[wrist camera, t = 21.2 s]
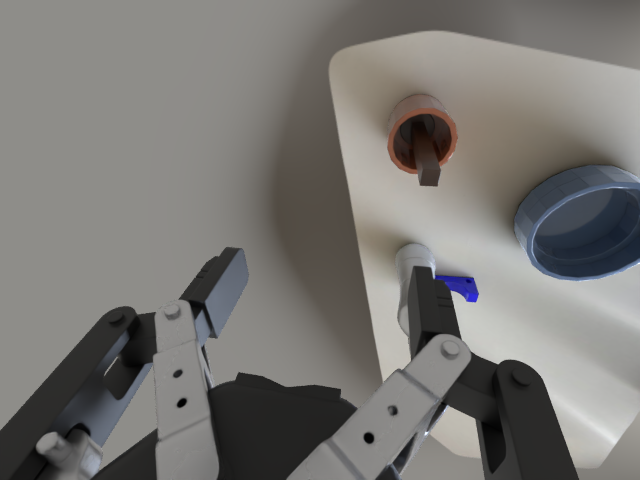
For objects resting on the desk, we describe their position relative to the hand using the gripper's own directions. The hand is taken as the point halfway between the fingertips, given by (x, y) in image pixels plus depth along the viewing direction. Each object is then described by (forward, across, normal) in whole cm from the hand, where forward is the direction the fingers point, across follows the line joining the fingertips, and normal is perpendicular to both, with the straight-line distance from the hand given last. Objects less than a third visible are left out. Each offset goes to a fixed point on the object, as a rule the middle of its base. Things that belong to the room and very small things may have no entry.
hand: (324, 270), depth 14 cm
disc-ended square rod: (+33, -7, +2) cm, 34 cm away
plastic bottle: (+34, -10, +24) cm, 43 cm away
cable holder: (+34, -17, +30) cm, 48 cm away
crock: (+34, -7, +2) cm, 35 cm away
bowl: (+34, -31, +14) cm, 48 cm away
